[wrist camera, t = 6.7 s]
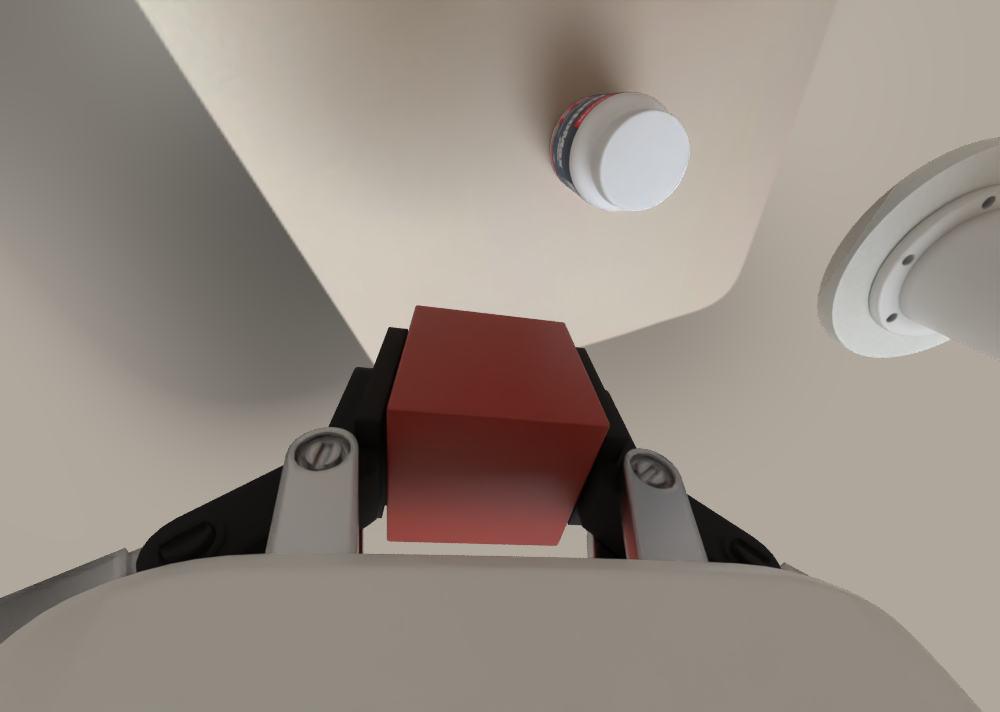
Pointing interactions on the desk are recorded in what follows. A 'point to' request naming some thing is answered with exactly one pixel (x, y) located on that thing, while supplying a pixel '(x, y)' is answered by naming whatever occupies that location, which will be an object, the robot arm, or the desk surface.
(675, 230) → the desk surface
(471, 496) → the red block
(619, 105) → the pill bottle
